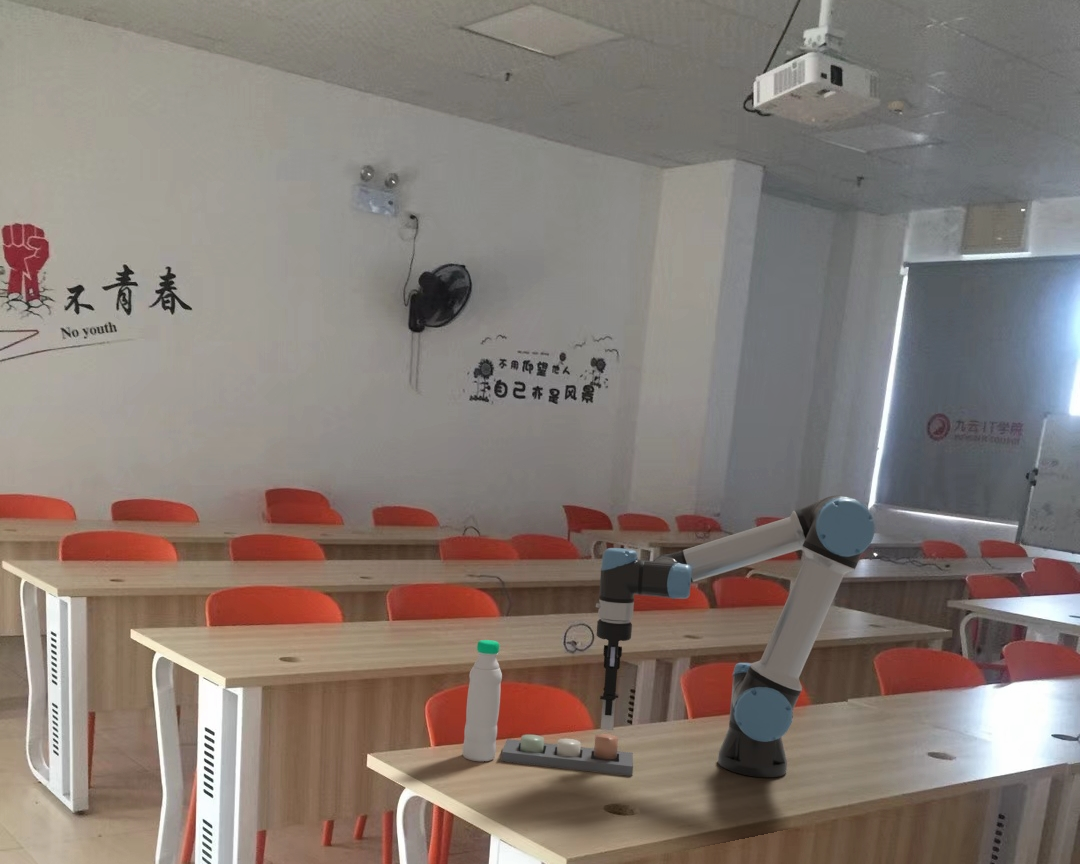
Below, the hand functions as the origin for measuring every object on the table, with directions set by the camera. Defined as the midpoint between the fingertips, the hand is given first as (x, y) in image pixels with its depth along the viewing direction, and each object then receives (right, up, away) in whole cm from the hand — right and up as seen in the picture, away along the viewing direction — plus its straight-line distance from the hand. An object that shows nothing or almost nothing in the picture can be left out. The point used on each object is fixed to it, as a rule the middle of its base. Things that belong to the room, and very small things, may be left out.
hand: (607, 728), depth 229 cm
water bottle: (-28, -6, -2) cm, 28 cm away
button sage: (-16, -6, +1) cm, 18 cm away
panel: (-8, -7, +1) cm, 11 cm away
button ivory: (-8, -7, +1) cm, 11 cm away
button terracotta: (0, -6, 0) cm, 6 cm away
